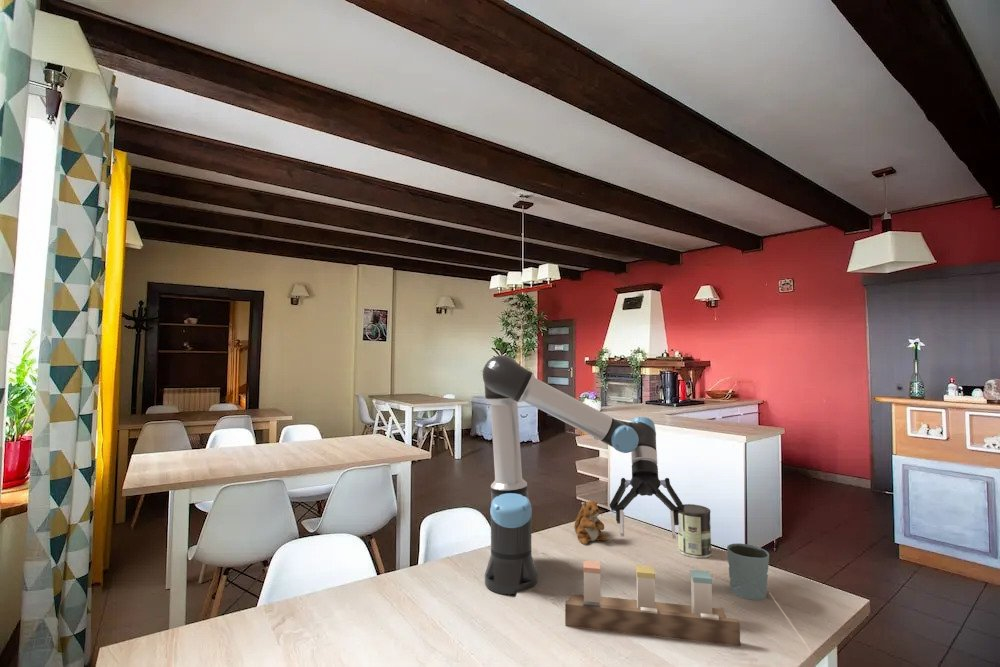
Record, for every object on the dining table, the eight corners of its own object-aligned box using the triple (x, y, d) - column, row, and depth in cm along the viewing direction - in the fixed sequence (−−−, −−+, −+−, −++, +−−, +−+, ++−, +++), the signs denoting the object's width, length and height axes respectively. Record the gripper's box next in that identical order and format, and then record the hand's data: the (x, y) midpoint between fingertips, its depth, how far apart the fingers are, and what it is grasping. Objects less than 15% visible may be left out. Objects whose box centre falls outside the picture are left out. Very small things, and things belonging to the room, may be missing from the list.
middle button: (637, 614, 118) (637, 572, 118) (636, 606, 122) (635, 564, 122) (655, 616, 117) (654, 573, 117) (653, 608, 121) (653, 566, 121)
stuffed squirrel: (584, 546, 164) (583, 507, 165) (566, 532, 177) (565, 495, 178) (610, 542, 167) (609, 504, 168) (590, 529, 180) (590, 493, 181)
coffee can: (703, 546, 164) (703, 503, 165) (716, 558, 154) (715, 513, 155) (673, 545, 164) (672, 503, 165) (684, 558, 154) (683, 513, 155)
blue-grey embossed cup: (719, 590, 133) (718, 545, 133) (747, 584, 136) (746, 540, 137) (750, 608, 123) (749, 560, 124) (779, 601, 127) (778, 554, 128)
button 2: (694, 621, 115) (693, 577, 115) (691, 612, 119) (690, 569, 120) (713, 623, 114) (712, 578, 115) (709, 613, 118) (708, 571, 119)
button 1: (583, 609, 120) (583, 567, 121) (584, 600, 124) (583, 560, 125) (600, 611, 119) (600, 568, 120) (600, 602, 124) (600, 561, 124)
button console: (565, 630, 113) (565, 602, 114) (570, 597, 129) (569, 572, 129) (740, 650, 105) (739, 620, 106) (722, 612, 121) (722, 586, 121)
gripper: (689, 470, 144) (697, 542, 130) (605, 471, 153) (603, 539, 138) (687, 458, 139) (696, 531, 125) (600, 459, 148) (599, 528, 133)
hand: (647, 535), depth 132 cm, fingers open, 13 cm apart
